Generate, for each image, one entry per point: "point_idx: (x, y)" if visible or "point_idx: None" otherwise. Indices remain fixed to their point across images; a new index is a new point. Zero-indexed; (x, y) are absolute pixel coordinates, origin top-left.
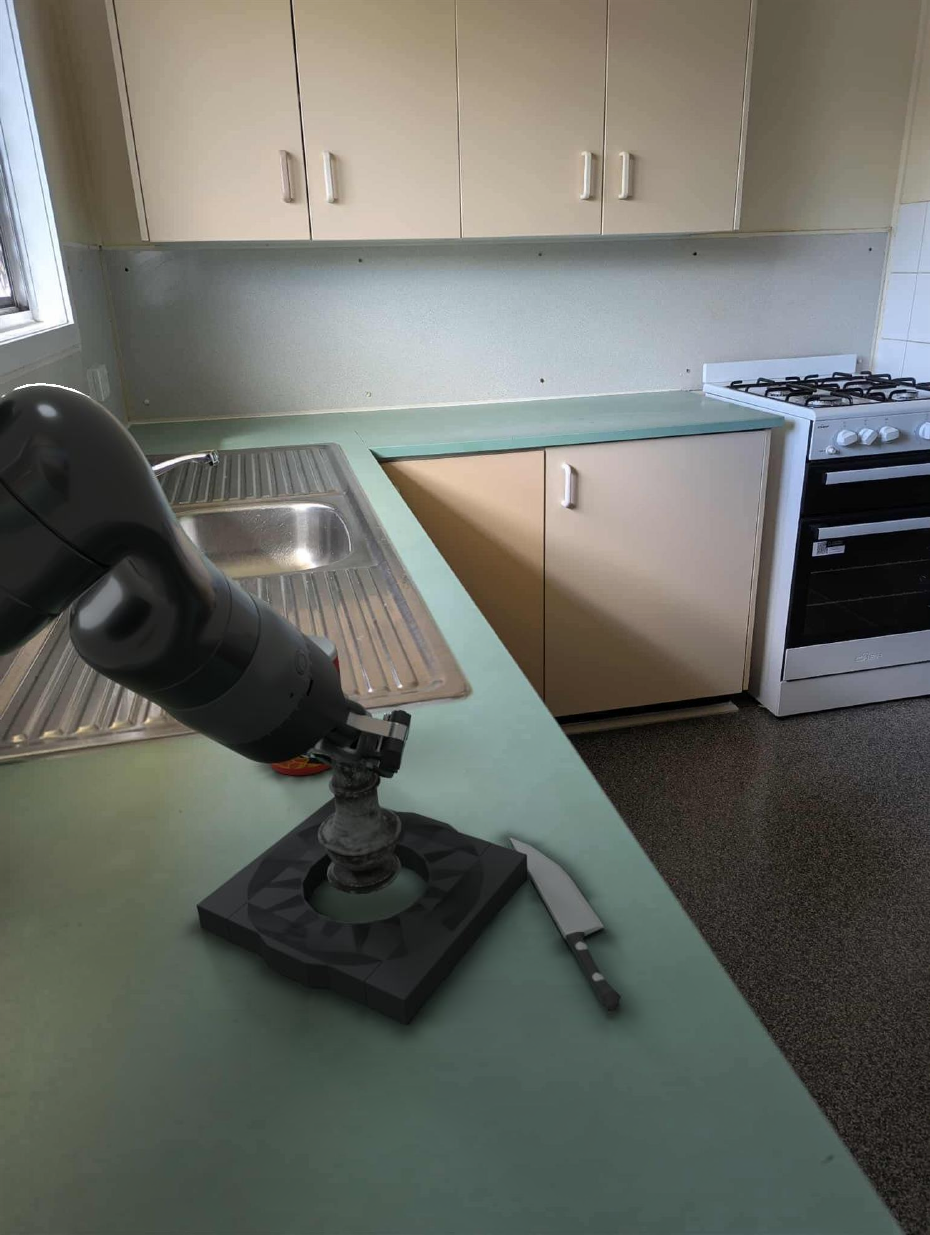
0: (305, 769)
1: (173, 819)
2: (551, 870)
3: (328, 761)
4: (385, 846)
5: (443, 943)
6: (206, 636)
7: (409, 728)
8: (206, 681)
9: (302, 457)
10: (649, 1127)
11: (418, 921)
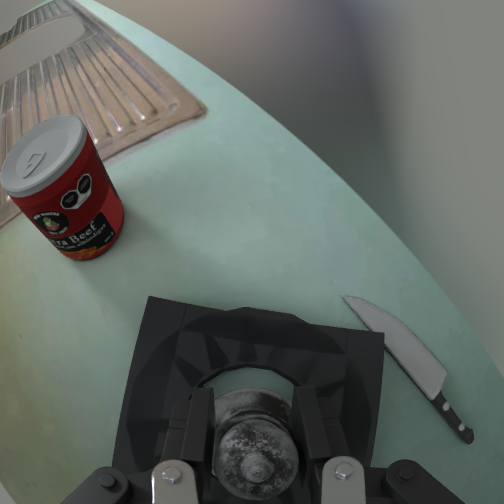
0: (96, 253)
1: (20, 348)
2: (394, 328)
3: (211, 469)
4: None
5: None
6: None
7: (451, 494)
8: None
9: (50, 5)
10: (487, 488)
11: None
